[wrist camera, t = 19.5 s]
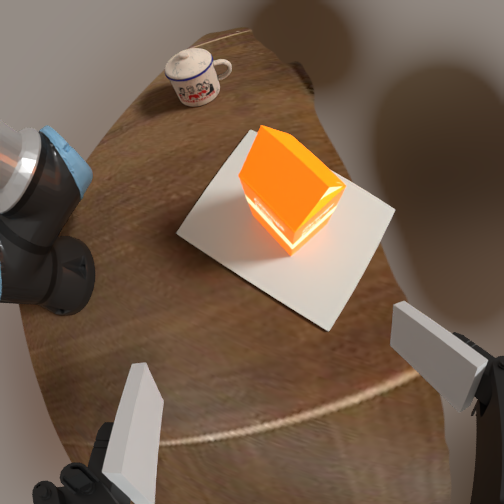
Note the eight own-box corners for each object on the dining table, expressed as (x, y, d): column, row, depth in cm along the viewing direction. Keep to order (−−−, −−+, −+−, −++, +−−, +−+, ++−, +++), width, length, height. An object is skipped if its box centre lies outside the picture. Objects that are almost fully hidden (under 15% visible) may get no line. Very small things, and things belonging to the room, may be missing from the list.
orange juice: (290, 257, 42) (296, 217, 22) (251, 215, 44) (226, 148, 24) (328, 223, 42) (360, 161, 23) (288, 183, 44) (289, 102, 24)
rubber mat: (177, 234, 45) (175, 233, 45) (250, 131, 47) (250, 129, 47) (328, 331, 40) (328, 331, 39) (394, 210, 42) (395, 209, 41)
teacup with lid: (179, 113, 50) (158, 75, 38) (177, 84, 52) (159, 47, 40) (239, 98, 49) (228, 55, 37) (232, 69, 51) (222, 29, 39)
